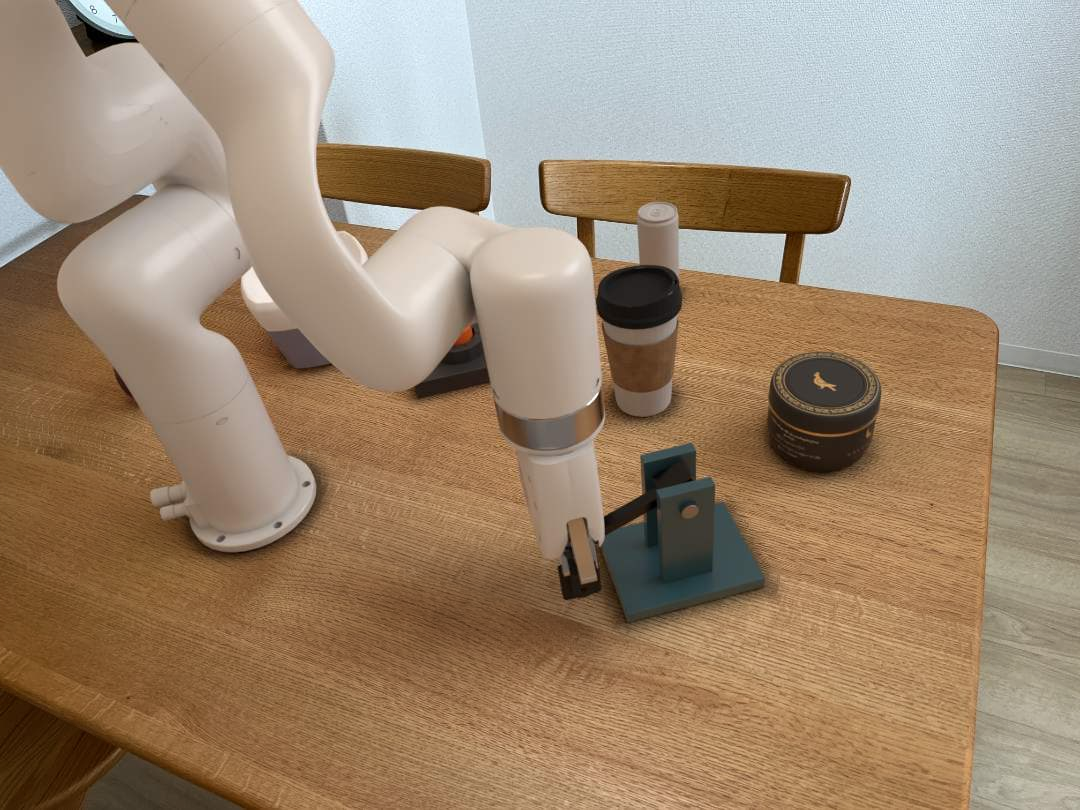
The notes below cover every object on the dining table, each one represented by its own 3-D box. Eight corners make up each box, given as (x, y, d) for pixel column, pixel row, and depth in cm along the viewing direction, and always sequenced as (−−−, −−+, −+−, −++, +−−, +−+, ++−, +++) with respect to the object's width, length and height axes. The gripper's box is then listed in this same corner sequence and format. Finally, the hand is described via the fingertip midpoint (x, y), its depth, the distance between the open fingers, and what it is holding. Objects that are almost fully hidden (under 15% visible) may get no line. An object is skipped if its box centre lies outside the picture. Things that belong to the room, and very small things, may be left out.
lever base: (627, 623, 67) (619, 530, 59) (598, 541, 74) (587, 449, 66) (764, 587, 68) (774, 491, 60) (723, 510, 75) (727, 415, 67)
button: (444, 349, 93) (441, 337, 92) (440, 332, 96) (437, 320, 94) (475, 342, 93) (472, 330, 92) (470, 325, 96) (467, 313, 95)
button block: (418, 398, 92) (410, 371, 90) (410, 349, 100) (402, 322, 97) (520, 375, 93) (515, 347, 91) (504, 327, 101) (499, 301, 98)
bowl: (377, 294, 111) (356, 221, 103) (398, 355, 99) (375, 278, 92) (265, 325, 108) (235, 252, 101) (273, 392, 97) (240, 315, 89)
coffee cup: (680, 427, 84) (678, 307, 74) (599, 423, 86) (587, 306, 76) (685, 375, 90) (685, 258, 80) (610, 373, 92) (600, 258, 82)
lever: (578, 579, 65) (564, 565, 63) (563, 533, 69) (550, 519, 67) (709, 507, 63) (698, 490, 61) (686, 463, 67) (675, 447, 65)
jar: (839, 493, 74) (850, 433, 69) (745, 449, 80) (749, 390, 75) (889, 432, 80) (902, 372, 75) (796, 395, 85) (803, 336, 80)
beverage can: (684, 289, 103) (683, 203, 95) (672, 310, 99) (670, 223, 92) (647, 284, 104) (644, 199, 97) (635, 304, 101) (630, 218, 94)
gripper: (477, 345, 62) (510, 504, 74) (521, 504, 49) (553, 665, 61) (571, 324, 63) (589, 484, 75) (639, 475, 50) (648, 640, 62)
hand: (572, 564), depth 68 cm, fingers closed on lever, 5 cm apart
